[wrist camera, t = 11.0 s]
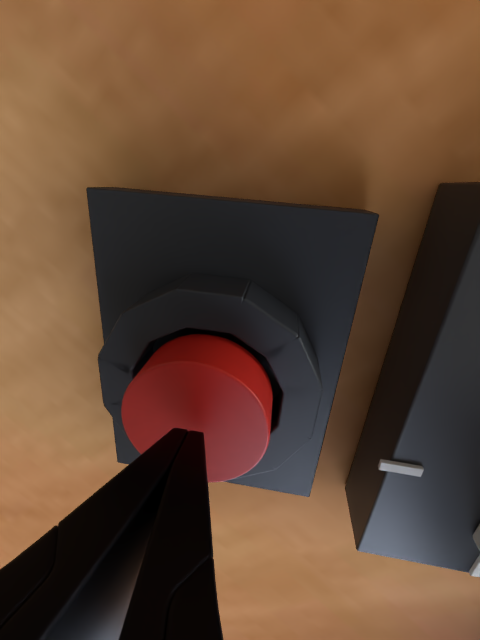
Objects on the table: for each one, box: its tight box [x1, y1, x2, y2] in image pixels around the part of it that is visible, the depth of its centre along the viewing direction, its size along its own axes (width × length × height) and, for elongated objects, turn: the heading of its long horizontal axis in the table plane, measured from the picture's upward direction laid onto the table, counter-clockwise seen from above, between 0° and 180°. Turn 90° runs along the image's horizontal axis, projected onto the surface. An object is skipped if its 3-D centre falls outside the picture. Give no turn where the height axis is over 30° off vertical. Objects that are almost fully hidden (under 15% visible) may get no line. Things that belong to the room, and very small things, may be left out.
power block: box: [86, 187, 379, 497], centre depth 12 cm, size 12×9×4 cm
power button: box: [121, 334, 273, 482], centre depth 10 cm, size 4×4×2 cm
